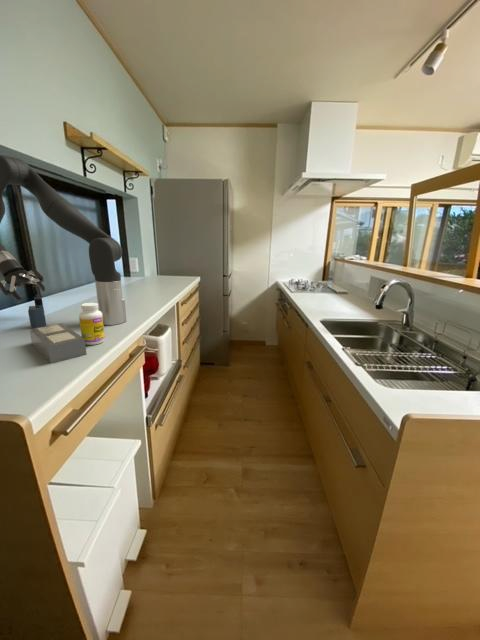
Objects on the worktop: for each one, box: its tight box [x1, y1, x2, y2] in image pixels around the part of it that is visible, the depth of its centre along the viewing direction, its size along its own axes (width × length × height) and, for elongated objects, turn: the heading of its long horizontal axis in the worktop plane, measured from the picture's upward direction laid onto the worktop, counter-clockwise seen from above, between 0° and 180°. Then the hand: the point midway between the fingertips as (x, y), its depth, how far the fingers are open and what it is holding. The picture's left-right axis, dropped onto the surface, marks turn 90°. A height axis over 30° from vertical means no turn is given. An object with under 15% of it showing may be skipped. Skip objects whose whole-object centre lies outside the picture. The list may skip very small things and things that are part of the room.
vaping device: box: [27, 294, 47, 329], centre depth 101 cm, size 3×5×12 cm, turn 162°
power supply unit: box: [28, 323, 88, 364], centre depth 82 cm, size 9×20×5 cm, turn 48°
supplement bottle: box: [78, 302, 106, 346], centre depth 87 cm, size 7×7×13 cm
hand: (32, 295), depth 107 cm, fingers open, 8 cm apart
